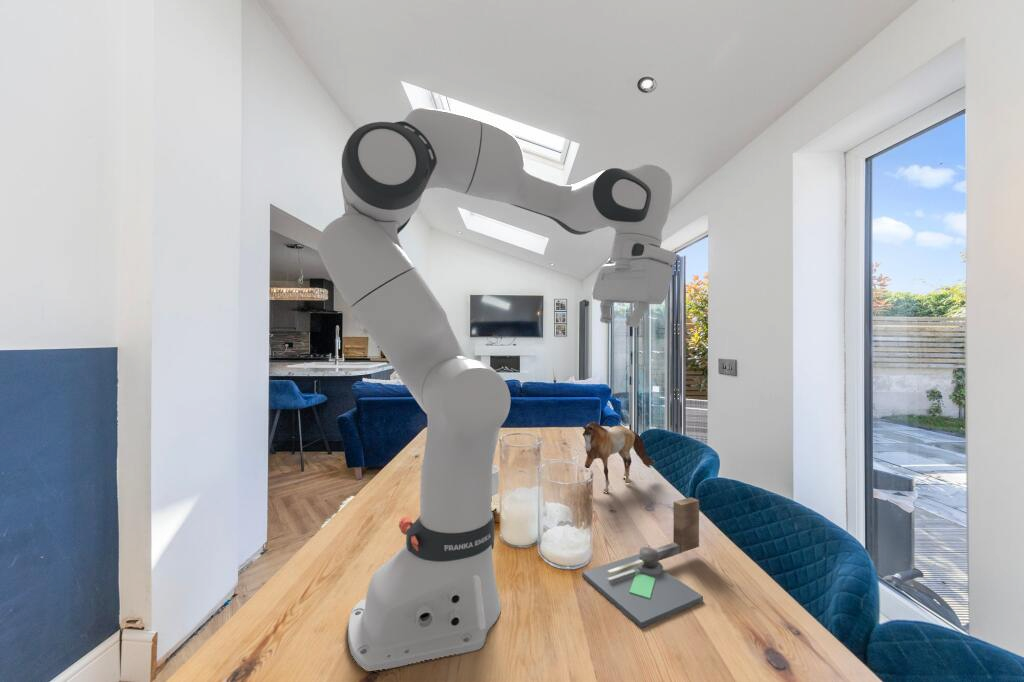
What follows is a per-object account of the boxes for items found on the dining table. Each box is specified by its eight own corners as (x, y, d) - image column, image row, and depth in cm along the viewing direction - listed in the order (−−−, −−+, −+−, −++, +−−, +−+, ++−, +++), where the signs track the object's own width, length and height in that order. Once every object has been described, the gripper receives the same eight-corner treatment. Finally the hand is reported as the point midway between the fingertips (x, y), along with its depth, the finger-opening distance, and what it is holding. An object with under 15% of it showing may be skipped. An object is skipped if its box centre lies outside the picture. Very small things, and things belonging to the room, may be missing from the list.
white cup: (494, 517, 92) (494, 475, 92) (463, 514, 94) (463, 472, 94) (501, 504, 100) (502, 465, 100) (472, 501, 101) (473, 463, 101)
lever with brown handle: (614, 581, 65) (615, 524, 65) (602, 571, 68) (602, 517, 68) (702, 551, 75) (702, 501, 75) (687, 543, 78) (688, 496, 78)
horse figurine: (587, 504, 100) (588, 425, 100) (566, 494, 106) (566, 420, 107) (655, 480, 119) (656, 413, 119) (634, 473, 125) (634, 410, 125)
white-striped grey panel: (641, 628, 56) (641, 620, 56) (582, 576, 69) (582, 570, 69) (706, 599, 63) (706, 592, 63) (641, 557, 75) (641, 551, 75)
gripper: (593, 255, 83) (579, 318, 84) (654, 244, 64) (634, 325, 65) (618, 263, 85) (603, 323, 86) (684, 254, 66) (665, 333, 67)
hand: (617, 324), depth 75 cm, fingers open, 8 cm apart
